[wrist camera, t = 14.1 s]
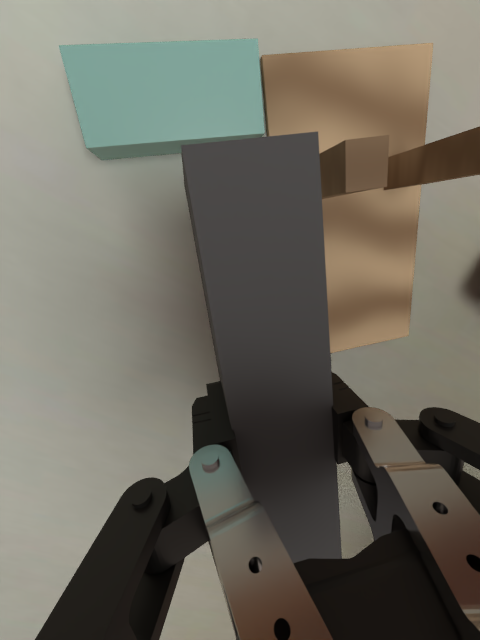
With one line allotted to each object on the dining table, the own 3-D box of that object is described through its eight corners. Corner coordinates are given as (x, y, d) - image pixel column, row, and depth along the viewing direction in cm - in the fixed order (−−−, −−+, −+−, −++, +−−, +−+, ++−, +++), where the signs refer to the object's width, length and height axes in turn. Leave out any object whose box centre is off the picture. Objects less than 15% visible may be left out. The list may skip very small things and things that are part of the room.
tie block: (252, 148, 18) (264, 133, 15) (103, 161, 16) (86, 148, 14) (245, 70, 16) (257, 38, 14) (82, 79, 15) (58, 45, 12)
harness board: (405, 334, 24) (491, 377, 17) (287, 360, 23) (330, 418, 16) (428, 46, 17) (586, -70, 10) (260, 59, 16) (316, -67, 9)
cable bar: (300, 481, 16) (342, 568, 11) (241, 497, 15) (261, 594, 11) (269, 175, 11) (318, 131, 7) (184, 185, 11) (181, 145, 7)
